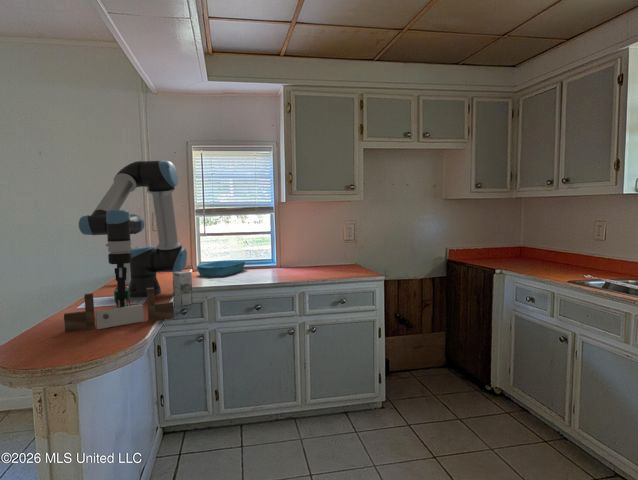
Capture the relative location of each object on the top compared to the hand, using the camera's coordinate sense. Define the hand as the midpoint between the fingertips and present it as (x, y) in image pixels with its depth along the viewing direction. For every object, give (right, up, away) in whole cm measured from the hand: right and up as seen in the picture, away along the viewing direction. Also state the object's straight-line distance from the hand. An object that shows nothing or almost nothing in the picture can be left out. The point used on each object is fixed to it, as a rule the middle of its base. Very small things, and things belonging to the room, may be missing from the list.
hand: (123, 315), depth 148 cm
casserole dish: (+10, +6, +112) cm, 112 cm away
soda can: (0, -2, 0) cm, 2 cm away
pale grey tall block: (-34, +2, +79) cm, 86 cm away
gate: (+2, -2, -6) cm, 7 cm away
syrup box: (+14, -1, +25) cm, 28 cm away
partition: (+1, -3, -3) cm, 4 cm away
